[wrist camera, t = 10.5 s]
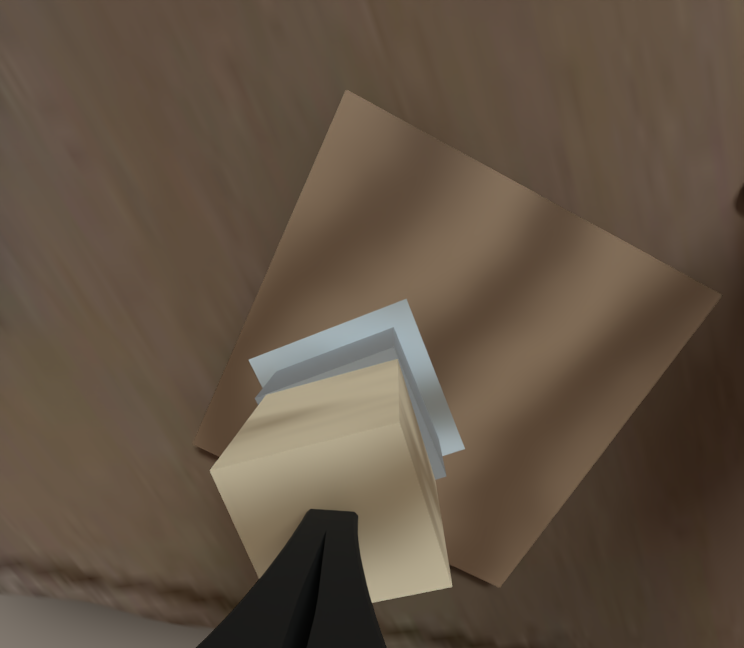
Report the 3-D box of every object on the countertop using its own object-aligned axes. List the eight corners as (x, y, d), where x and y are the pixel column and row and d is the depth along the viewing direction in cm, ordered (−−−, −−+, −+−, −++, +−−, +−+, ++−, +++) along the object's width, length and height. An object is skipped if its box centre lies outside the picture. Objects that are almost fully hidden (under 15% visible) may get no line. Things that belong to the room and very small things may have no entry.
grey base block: (438, 438, 19) (446, 476, 16) (326, 474, 20) (315, 517, 17) (393, 326, 18) (393, 346, 15) (276, 371, 19) (254, 398, 16)
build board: (704, 291, 18) (723, 295, 17) (495, 572, 22) (499, 588, 21) (348, 97, 17) (346, 88, 16) (201, 434, 21) (191, 444, 20)
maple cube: (435, 479, 16) (452, 586, 12) (311, 508, 17) (278, 621, 12) (397, 358, 15) (399, 422, 10) (265, 395, 16) (209, 470, 11)
